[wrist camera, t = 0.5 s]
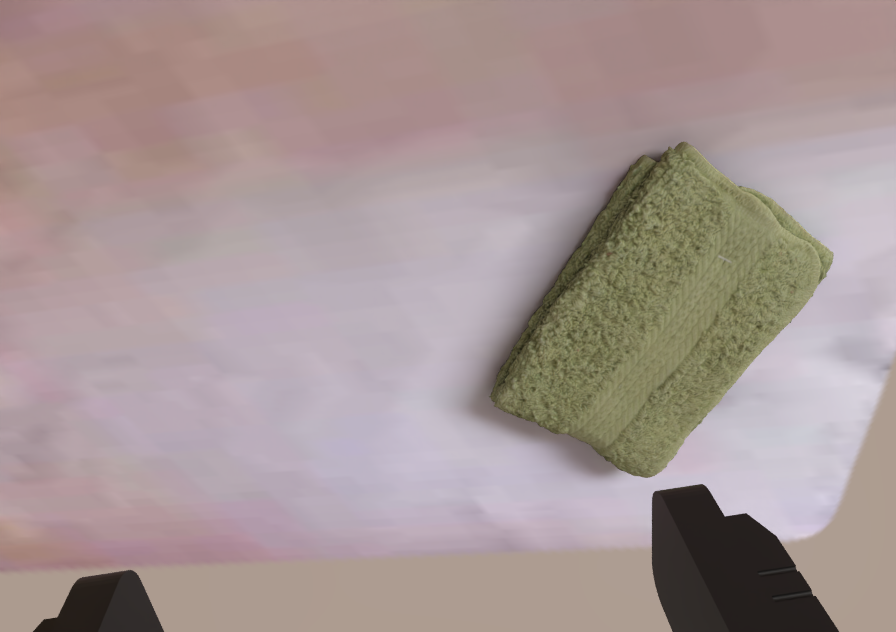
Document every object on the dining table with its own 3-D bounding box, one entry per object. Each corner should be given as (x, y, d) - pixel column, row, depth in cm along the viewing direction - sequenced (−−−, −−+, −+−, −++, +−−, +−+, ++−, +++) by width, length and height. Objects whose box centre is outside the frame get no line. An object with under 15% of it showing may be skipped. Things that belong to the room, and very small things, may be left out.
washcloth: (834, 242, 41) (868, 263, 38) (640, 465, 47) (656, 499, 44) (655, 120, 37) (678, 134, 34) (469, 380, 43) (475, 411, 40)
